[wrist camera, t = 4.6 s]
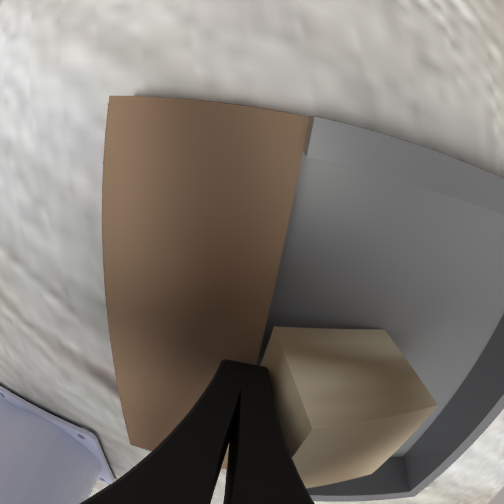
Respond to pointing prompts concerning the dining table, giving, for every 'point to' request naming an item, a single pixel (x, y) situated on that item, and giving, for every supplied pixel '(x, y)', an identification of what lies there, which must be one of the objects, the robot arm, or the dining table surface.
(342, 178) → the box
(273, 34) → the dining table surface
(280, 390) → the birch block
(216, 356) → the walnut board
